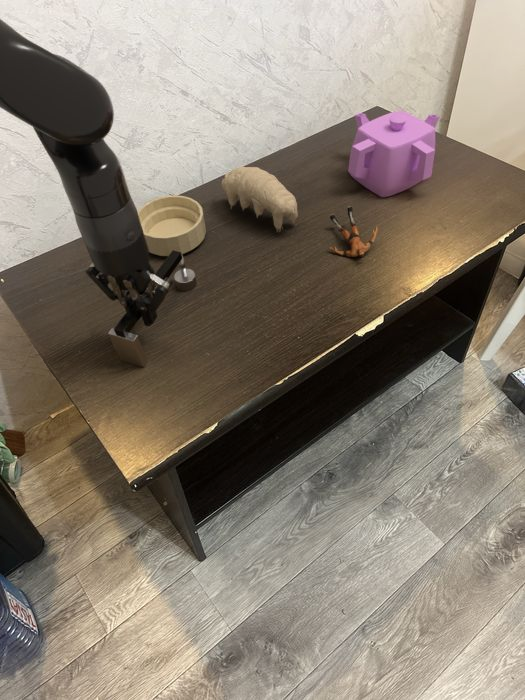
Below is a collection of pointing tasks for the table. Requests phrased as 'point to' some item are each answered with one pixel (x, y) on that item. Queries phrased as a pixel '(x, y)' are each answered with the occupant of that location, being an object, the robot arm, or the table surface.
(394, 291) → the table surface
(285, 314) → the table surface
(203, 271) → the table surface
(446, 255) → the table surface
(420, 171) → the teakettle
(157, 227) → the bowl
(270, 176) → the model
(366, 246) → the figurine
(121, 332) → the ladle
